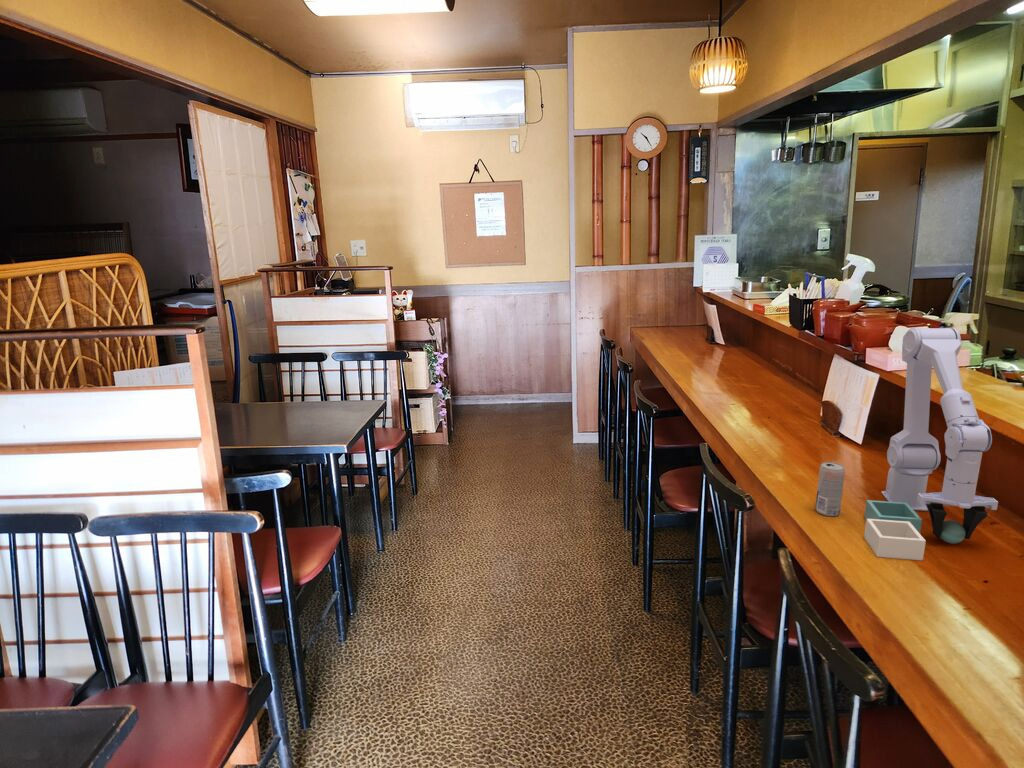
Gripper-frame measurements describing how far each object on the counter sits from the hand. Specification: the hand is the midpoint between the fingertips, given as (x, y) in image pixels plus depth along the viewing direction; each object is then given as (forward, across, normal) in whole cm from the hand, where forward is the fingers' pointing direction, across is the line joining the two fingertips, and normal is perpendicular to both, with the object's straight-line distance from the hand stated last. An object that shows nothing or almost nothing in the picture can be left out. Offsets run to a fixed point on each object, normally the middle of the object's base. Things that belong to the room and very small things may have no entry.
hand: (950, 536), depth 136 cm
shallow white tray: (+1, -13, -5) cm, 14 cm away
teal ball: (-1, 0, 0) cm, 1 cm away
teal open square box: (+1, -10, +5) cm, 11 cm away
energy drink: (+2, -22, +11) cm, 25 cm away
